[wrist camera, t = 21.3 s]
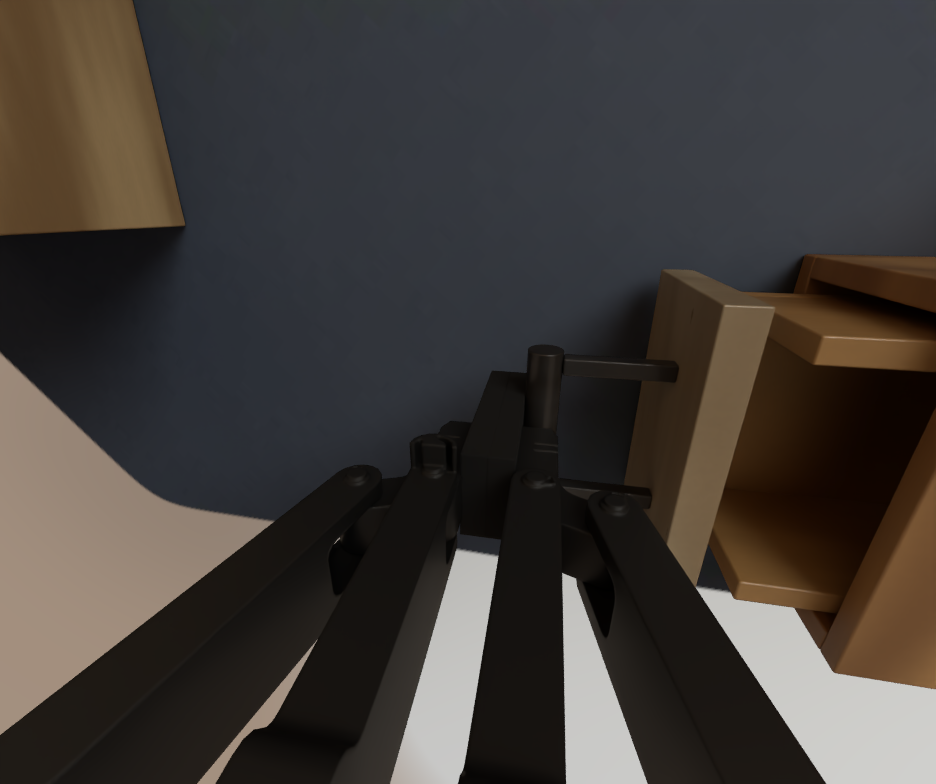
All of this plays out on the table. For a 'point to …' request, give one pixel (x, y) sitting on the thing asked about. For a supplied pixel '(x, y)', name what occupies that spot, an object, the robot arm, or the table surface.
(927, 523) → the cabinet
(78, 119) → the stand
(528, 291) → the table surface
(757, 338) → the drawer
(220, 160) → the table surface
